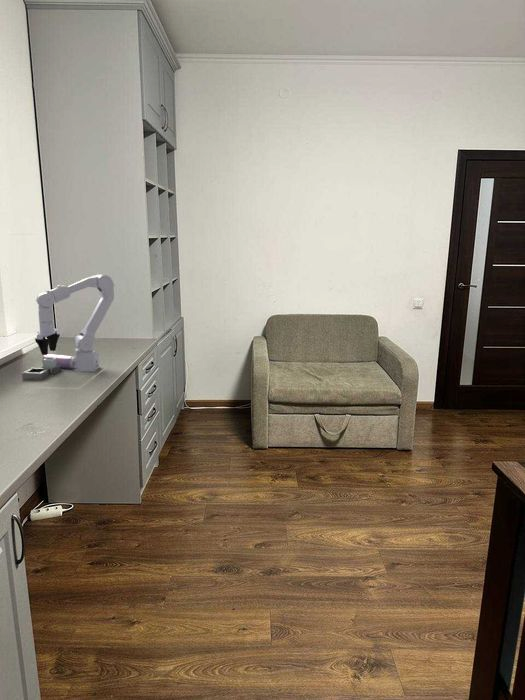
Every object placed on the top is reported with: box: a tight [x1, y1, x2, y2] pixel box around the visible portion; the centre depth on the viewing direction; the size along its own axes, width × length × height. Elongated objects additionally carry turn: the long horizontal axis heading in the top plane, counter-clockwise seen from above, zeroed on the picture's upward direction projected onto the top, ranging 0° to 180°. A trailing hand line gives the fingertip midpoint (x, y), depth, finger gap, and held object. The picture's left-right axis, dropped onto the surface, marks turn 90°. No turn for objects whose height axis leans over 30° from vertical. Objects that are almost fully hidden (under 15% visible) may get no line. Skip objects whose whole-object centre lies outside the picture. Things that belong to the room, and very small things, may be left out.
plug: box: [42, 357, 57, 374], centre depth 208 cm, size 4×4×7 cm
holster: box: [40, 365, 62, 376], centre depth 209 cm, size 7×7×3 cm
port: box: [21, 367, 52, 381], centre depth 201 cm, size 8×8×4 cm
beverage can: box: [41, 353, 76, 370], centre depth 218 cm, size 6×6×15 cm
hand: (48, 352), depth 207 cm, fingers open, 7 cm apart
